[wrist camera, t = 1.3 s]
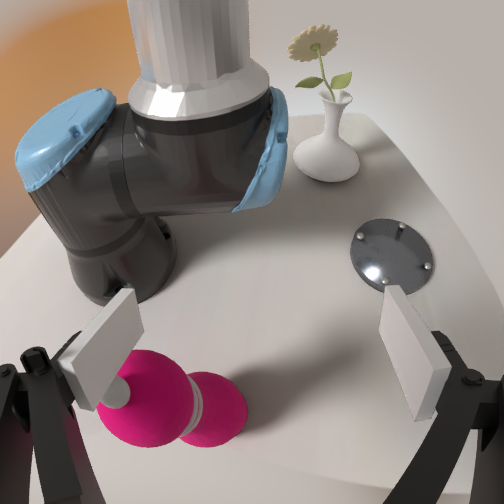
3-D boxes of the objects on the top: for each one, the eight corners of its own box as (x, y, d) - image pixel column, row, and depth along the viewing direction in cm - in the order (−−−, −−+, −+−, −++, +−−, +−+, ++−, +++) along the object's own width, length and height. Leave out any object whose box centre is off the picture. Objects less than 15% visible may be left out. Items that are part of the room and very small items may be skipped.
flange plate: (337, 272, 41) (340, 265, 39) (364, 213, 47) (366, 205, 45) (419, 309, 37) (424, 303, 36) (434, 243, 43) (438, 237, 42)
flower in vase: (347, 147, 57) (367, 21, 36) (366, 187, 50) (400, 43, 30) (278, 148, 56) (281, 14, 36) (288, 190, 50) (296, 32, 29)
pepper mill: (232, 456, 28) (127, 490, 10) (174, 423, 30) (35, 404, 13) (264, 397, 30) (199, 361, 13) (204, 367, 33) (92, 297, 16)
